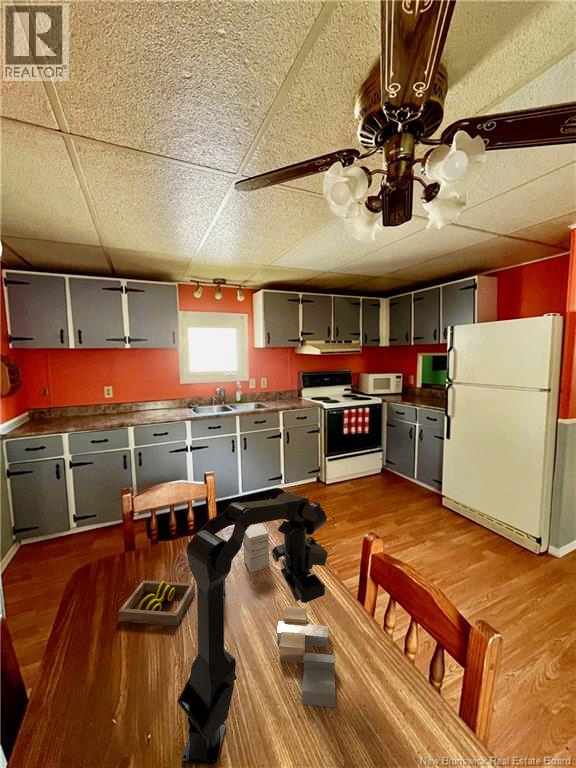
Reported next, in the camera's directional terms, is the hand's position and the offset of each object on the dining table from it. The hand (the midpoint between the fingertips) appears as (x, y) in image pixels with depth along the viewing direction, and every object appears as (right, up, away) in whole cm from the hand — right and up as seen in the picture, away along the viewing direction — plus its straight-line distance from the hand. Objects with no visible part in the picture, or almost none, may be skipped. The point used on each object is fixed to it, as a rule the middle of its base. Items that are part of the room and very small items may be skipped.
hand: (297, 599), depth 79 cm
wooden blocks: (-1, -11, 0) cm, 11 cm away
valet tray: (-41, -10, +12) cm, 44 cm away
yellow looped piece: (-41, -10, +12) cm, 44 cm away
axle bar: (+2, -11, 0) cm, 11 cm away
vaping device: (-24, -10, +16) cm, 31 cm away
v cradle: (+5, -11, -11) cm, 16 cm away
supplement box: (-14, -9, +30) cm, 34 cm away
